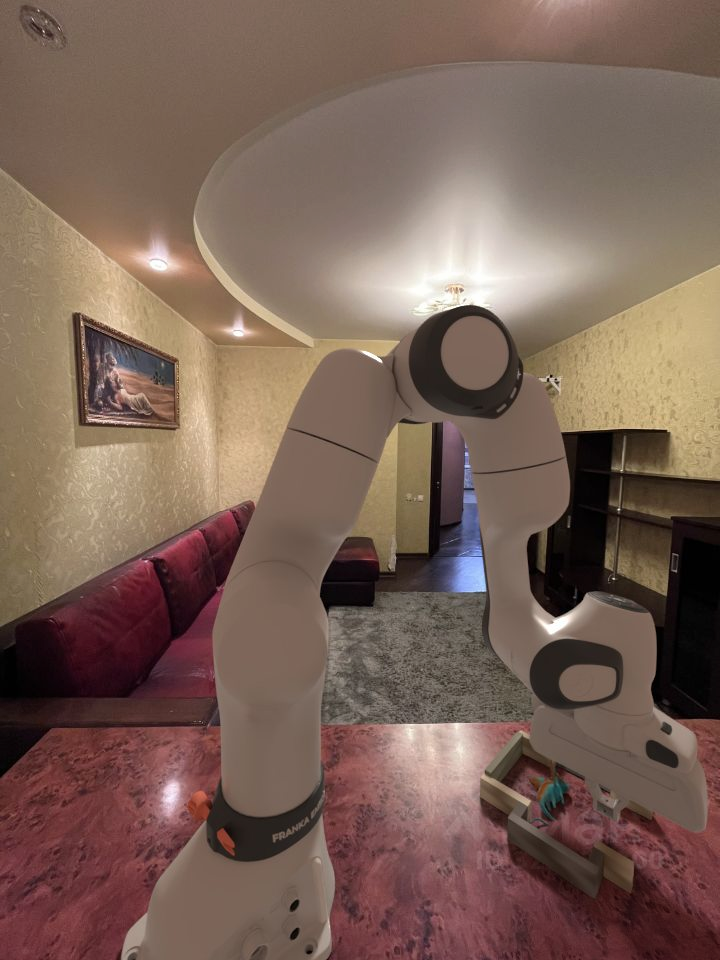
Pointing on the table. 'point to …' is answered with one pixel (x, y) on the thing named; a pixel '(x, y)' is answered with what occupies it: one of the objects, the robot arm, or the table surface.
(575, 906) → the table surface
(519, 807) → the channel
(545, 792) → the dragon figurine
